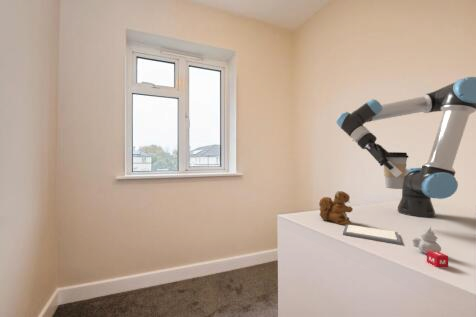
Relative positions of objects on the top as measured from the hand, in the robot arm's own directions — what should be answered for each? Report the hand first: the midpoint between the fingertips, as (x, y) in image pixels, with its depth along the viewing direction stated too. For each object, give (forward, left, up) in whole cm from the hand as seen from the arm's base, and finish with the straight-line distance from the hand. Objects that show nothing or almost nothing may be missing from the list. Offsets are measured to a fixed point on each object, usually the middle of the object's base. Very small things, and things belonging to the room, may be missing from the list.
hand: (403, 174), depth 94 cm
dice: (-4, +38, -21) cm, 44 cm away
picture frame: (+11, +20, -21) cm, 31 cm away
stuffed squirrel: (+25, +8, -21) cm, 34 cm away
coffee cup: (+3, -1, -6) cm, 7 cm away
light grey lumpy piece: (-3, +30, -21) cm, 37 cm away
